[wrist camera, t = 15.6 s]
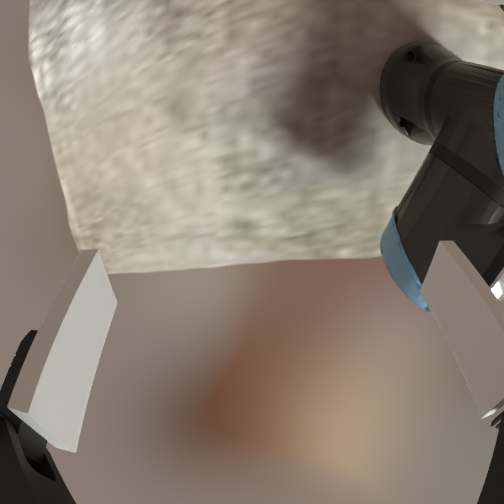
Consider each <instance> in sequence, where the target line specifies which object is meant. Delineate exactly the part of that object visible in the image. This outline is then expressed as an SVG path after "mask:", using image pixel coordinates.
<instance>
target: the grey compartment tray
mask: <svg viewBox="0 0 504 504" xmlns="http://www.w3.org/2000/svg"><path fill="white" fill-rule="evenodd" d="M478 1H481V2H483V3H486V4H498V5H503V9H504V0H478Z"/></svg>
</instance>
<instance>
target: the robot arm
mask: <svg viewBox="0 0 504 504" xmlns="http://www.w3.org/2000/svg"><path fill="white" fill-rule="evenodd" d="M380 95H381V101H382V105H383V108H384V111H385V113H386V115H387V117H388V119H389V121H390V122H391V124H392V125H393V126H394V127H395V128H396V129H397V130H398V131H399V132H400V133H402V134H403V135H405V136H406V137H408V138H409V139H411V140H413V141H415V142H417V143H420V144H424V145H432V147H431V149H430V151H429V152H428V154H427V156H426V158H425V160H424V162H423V163H422V165H421V167H420V169H419V171H418V172H417V174H416V176H415V178H414V180H413V181H412V183H411V185H410V187H409V188H408V190H407V192H406V194H405V195H404V197H403V199H402V200H401V202H400V204H399V205H398V206H396V207H395V209H394V210H393V213H392V217H391V219H390V221H389V223H388V225H387V227H386V228H385V230H384V232H383V234H382V237H381V241H380V250H381V254H382V258H383V261H384V264H385V266H386V268H387V270H388V272H389V274H390V275H391V277H392V278H393V280H394V282H395V283H396V284H397V285H398V287H399V288H400V289H401V290H402V292H403V293H404V294H405V295H406V296H407V297H408V298H409V299H410V300H411V301H412V302H413V303H414V304H416V305H417V306H418V307H420V308H425V309H426V311H427V312H428V313H431V314H432V315H433V317H434V318H435V320H436V322H437V324H438V326H439V328H440V330H441V332H442V333H443V336H444V337H445V339H446V341H447V343H448V345H449V347H450V349H451V351H452V353H453V356H454V357H455V360H456V362H457V364H458V366H459V368H460V370H461V372H462V375H463V377H464V379H465V381H466V383H467V386H468V388H469V390H470V393H471V395H472V397H473V400H474V402H475V405H476V407H477V410H478V412H479V415H480V417H481V419H482V418H484V417H486V416H489V415H491V414H493V413H495V412H496V411H497V410H498V409H500V408H501V407H502V406H503V405H504V70H500V69H496V68H493V67H489V66H484V65H480V64H476V63H471V62H466V61H463V60H462V59H460V58H459V57H458V56H456V55H455V54H453V53H452V52H451V51H449V50H448V49H446V48H444V47H442V46H439V45H436V44H432V43H422V42H416V43H410V44H407V45H405V46H403V47H401V48H399V49H398V50H397V51H395V52H394V53H393V54H392V56H391V57H390V58H389V60H388V61H387V63H386V65H385V67H384V69H383V72H382V76H381V82H380ZM116 306H117V301H116V298H115V296H114V293H113V290H112V287H111V285H110V282H109V279H108V276H107V273H106V270H105V267H104V265H103V262H102V259H101V255H100V252H99V249H94V250H81V251H80V253H79V255H78V256H77V258H76V260H75V261H74V263H73V265H72V267H71V268H70V270H69V272H68V274H67V275H66V277H65V279H64V281H63V283H62V284H61V286H60V288H59V290H58V292H57V294H56V296H55V298H54V299H53V301H52V303H51V305H50V307H49V309H48V311H47V313H46V315H45V317H44V319H43V321H42V323H41V326H40V328H39V330H38V331H37V330H31V331H30V332H29V333H28V334H27V335H26V336H25V338H24V339H23V340H22V341H21V343H20V345H19V348H18V350H17V352H16V357H14V359H13V361H12V363H11V365H12V366H11V367H10V368H9V370H8V373H7V375H6V378H5V380H4V383H3V385H2V388H1V390H0V504H76V503H75V501H74V499H73V498H72V496H71V494H70V492H69V490H68V489H67V487H66V485H65V483H64V481H63V479H62V477H61V475H60V473H59V471H58V469H57V467H56V465H55V463H54V461H53V459H52V457H51V454H50V452H49V451H48V450H47V449H46V444H47V441H48V442H49V443H51V444H52V445H53V446H55V447H57V448H60V449H63V450H67V451H71V452H75V453H76V451H77V446H78V441H79V436H80V431H81V427H82V423H83V418H84V414H85V410H86V405H87V402H88V398H89V394H90V390H91V387H92V383H93V379H94V376H95V372H96V369H97V365H98V362H99V358H100V355H101V351H102V348H103V345H104V342H105V339H106V336H107V333H108V329H109V327H110V324H111V320H112V317H113V315H114V311H115V309H116ZM500 420H501V422H500V423H499V424H498V425H497V426H496V428H498V429H499V432H498V436H497V441H496V445H495V449H494V452H493V456H492V460H491V463H490V467H489V470H488V474H487V477H486V480H485V483H484V486H483V489H482V492H481V494H480V497H479V500H478V502H477V504H504V411H503V412H502V413H501V414H499V415H498V416H497V417H496V418H495V419H494V420H493V421H492V423H491V426H494V425H495V424H496V423H497V422H498V421H500Z"/></svg>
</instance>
